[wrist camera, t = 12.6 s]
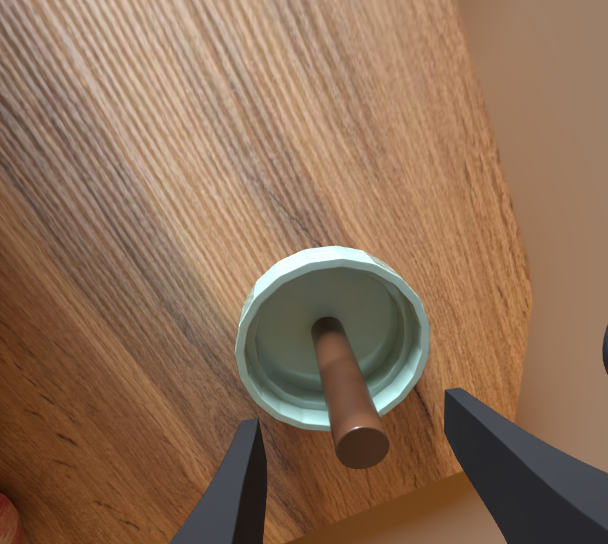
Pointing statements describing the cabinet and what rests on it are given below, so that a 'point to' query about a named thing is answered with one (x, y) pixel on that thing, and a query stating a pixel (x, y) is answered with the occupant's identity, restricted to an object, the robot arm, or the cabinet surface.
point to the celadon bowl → (355, 319)
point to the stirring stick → (347, 398)
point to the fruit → (9, 522)
